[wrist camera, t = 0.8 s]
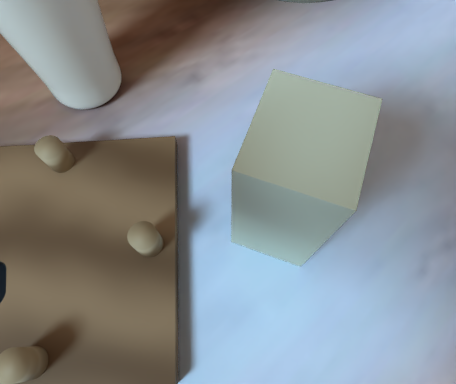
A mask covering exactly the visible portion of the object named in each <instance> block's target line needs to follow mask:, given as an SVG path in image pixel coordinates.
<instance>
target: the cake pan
mask: <svg viewBox="0 0 456 384" xmlns="http://www.w3.org/2000/svg"><path fill="white" fill-rule="evenodd" d="M279 1H287V2H298V3H312V2H325V1H332V0H279Z"/></svg>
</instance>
